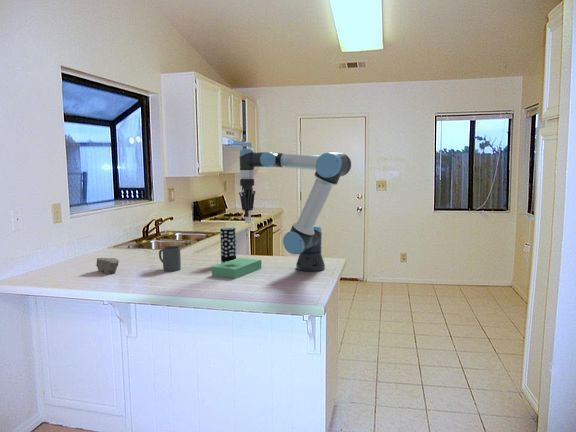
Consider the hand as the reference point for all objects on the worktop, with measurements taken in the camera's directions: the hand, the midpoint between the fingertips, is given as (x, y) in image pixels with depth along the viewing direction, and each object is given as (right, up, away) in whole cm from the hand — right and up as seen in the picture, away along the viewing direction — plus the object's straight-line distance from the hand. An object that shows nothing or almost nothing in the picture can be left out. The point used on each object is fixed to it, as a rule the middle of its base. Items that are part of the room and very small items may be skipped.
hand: (247, 222), depth 244 cm
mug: (-42, -25, +1) cm, 49 cm away
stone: (-73, -26, -5) cm, 77 cm away
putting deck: (-5, -25, -7) cm, 27 cm away
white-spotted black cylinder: (-12, -24, +12) cm, 29 cm away
